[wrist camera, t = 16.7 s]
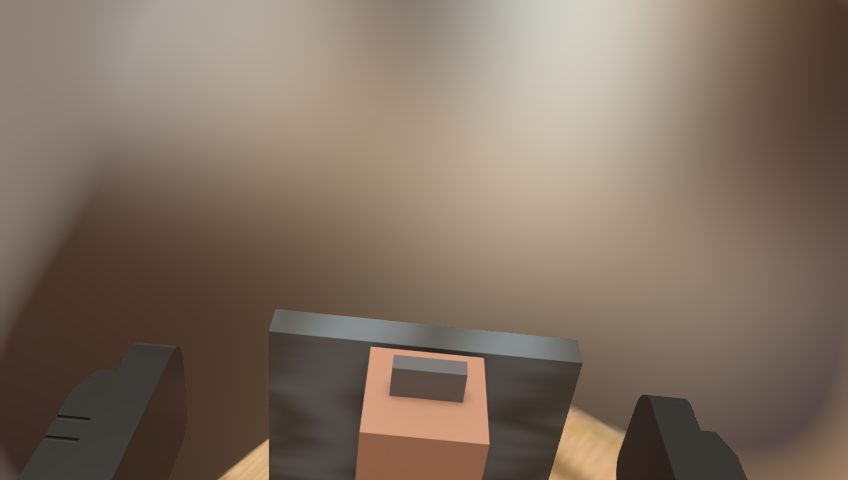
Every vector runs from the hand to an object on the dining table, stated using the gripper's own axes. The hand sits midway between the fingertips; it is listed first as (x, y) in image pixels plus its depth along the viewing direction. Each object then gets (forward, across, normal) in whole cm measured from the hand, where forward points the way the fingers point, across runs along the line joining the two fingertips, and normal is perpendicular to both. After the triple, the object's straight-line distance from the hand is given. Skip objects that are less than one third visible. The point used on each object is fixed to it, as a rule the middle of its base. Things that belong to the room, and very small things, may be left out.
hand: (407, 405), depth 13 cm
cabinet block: (+13, -1, +24) cm, 27 cm away
